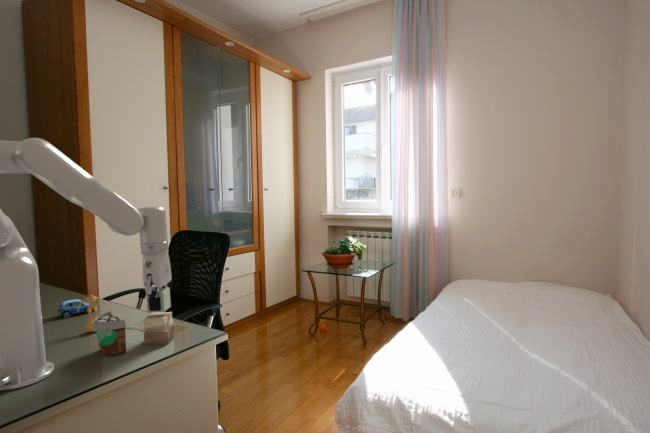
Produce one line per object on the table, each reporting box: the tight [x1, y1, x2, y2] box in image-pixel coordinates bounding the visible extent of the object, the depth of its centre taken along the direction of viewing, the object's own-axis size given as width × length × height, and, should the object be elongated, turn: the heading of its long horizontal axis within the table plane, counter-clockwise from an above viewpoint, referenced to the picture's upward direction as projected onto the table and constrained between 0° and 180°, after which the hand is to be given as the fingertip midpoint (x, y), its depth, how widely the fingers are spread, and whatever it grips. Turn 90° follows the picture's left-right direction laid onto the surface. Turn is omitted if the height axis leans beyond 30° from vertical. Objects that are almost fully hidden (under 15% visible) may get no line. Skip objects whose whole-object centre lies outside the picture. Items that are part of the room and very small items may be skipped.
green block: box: [145, 286, 172, 314], centre depth 114 cm, size 5×5×6 cm
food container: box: [93, 311, 127, 357], centre depth 107 cm, size 12×6×10 cm, turn 47°
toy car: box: [55, 298, 94, 319], centre depth 143 cm, size 6×12×6 cm, turn 132°
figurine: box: [77, 294, 108, 333], centre depth 124 cm, size 8×6×12 cm
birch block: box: [143, 311, 173, 333], centre depth 114 cm, size 6×6×4 cm
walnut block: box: [143, 323, 178, 346], centre depth 115 cm, size 7×7×4 cm
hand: (159, 306), depth 114 cm, fingers closed on green block, 5 cm apart
